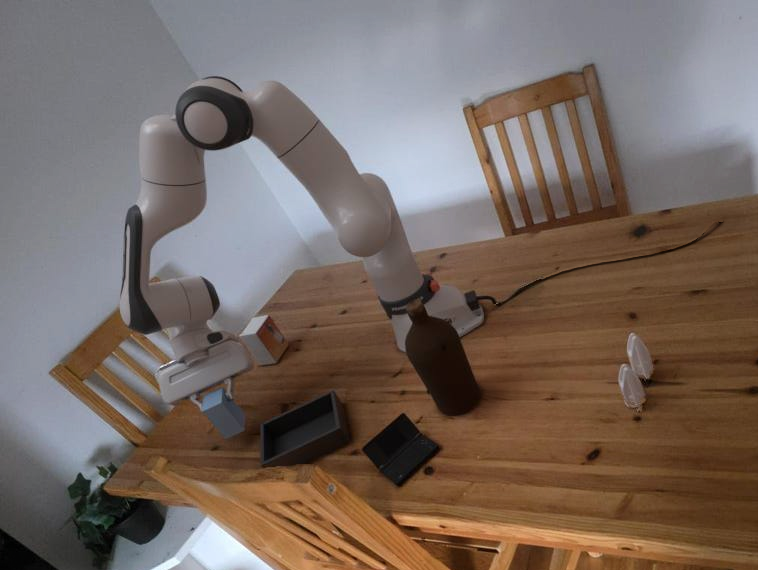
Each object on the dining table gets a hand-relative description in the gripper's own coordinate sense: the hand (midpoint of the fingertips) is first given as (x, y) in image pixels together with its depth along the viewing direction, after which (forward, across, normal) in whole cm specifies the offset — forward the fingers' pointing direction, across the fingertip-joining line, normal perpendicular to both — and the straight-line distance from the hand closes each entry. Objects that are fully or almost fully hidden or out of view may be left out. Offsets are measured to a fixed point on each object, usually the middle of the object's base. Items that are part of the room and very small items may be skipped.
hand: (219, 405), depth 131 cm
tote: (+16, +15, -1) cm, 22 cm away
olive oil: (+22, +48, -7) cm, 53 cm away
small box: (-13, +8, +29) cm, 33 cm away
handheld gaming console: (+28, +34, -13) cm, 46 cm away
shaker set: (+36, +79, -21) cm, 89 cm away
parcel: (+5, 0, +4) cm, 6 cm away
